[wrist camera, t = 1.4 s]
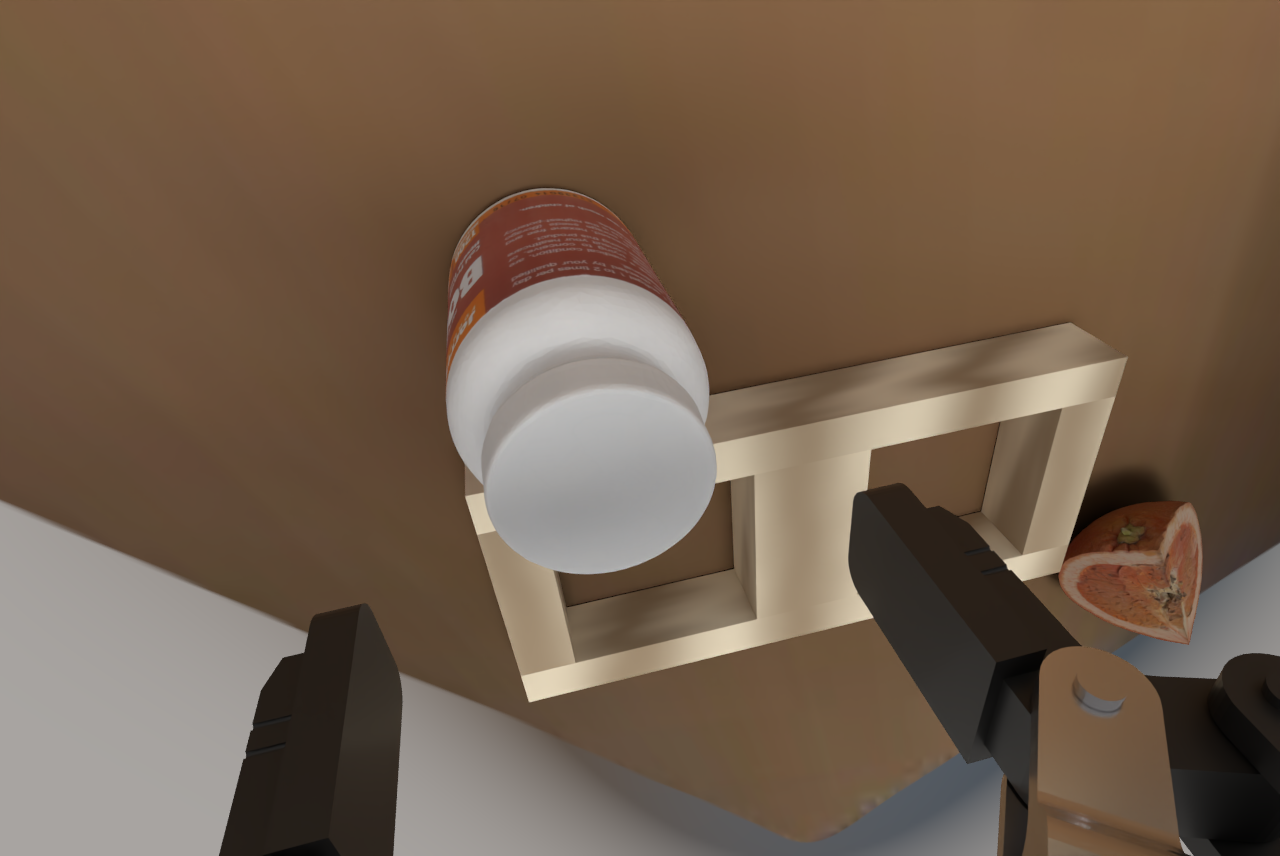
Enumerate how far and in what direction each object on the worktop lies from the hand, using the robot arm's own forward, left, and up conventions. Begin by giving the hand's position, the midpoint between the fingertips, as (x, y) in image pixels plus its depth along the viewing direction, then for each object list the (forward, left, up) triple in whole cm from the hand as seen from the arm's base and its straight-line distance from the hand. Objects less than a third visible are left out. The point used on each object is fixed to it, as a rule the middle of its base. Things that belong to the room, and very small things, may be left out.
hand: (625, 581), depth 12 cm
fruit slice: (-25, +18, -14) cm, 34 cm away
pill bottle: (0, 0, -14) cm, 14 cm away
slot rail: (-8, +11, -14) cm, 19 cm away
